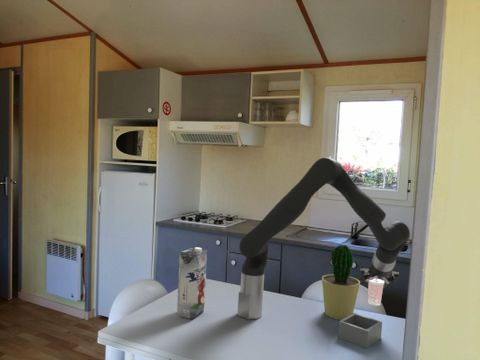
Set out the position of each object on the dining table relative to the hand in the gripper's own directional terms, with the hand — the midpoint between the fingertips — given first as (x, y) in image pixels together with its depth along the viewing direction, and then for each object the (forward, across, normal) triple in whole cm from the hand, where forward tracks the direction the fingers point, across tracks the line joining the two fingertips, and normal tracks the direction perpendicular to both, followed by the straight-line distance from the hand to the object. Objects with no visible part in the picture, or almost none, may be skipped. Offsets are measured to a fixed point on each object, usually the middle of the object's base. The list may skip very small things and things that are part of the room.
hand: (374, 284), depth 153 cm
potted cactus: (+19, +12, +6) cm, 23 cm away
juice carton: (+7, +71, +18) cm, 73 cm away
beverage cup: (+4, 0, +6) cm, 7 cm away
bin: (+4, +6, +20) cm, 21 cm away
